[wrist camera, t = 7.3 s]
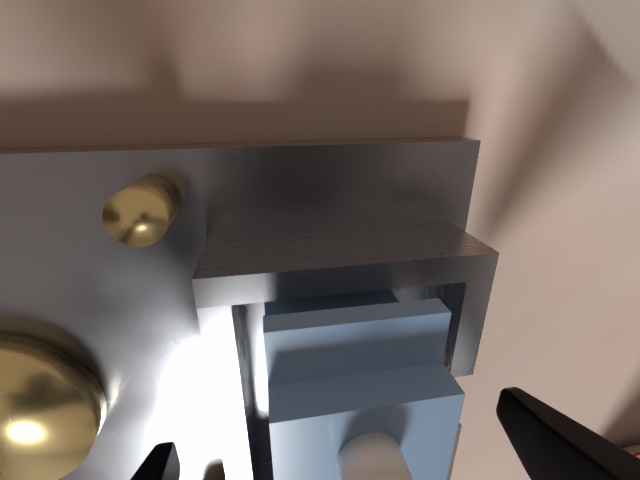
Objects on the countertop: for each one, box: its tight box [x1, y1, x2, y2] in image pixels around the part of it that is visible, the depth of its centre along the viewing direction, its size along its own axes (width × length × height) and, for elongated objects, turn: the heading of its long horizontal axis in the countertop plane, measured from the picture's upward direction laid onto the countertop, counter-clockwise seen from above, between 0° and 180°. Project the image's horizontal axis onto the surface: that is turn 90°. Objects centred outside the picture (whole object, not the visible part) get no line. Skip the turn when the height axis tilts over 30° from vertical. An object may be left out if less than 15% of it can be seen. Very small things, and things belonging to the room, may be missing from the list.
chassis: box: [0, 137, 499, 480], centre depth 10 cm, size 14×18×3 cm
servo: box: [263, 290, 465, 480], centre depth 9 cm, size 8×4×5 cm, turn 0°
